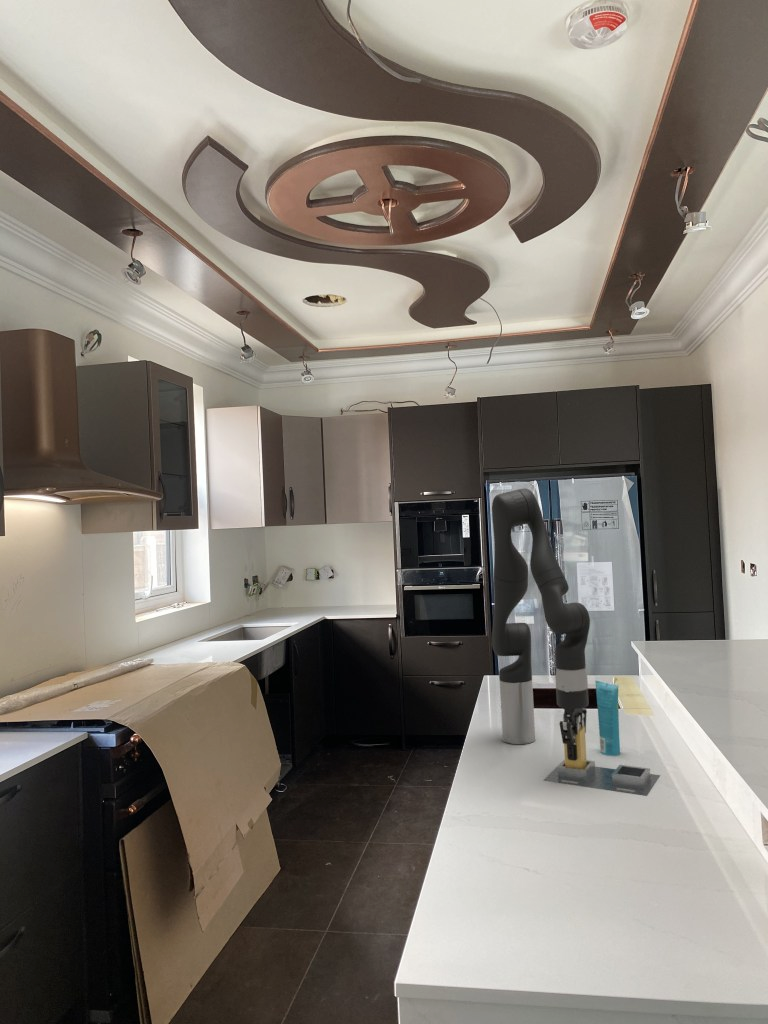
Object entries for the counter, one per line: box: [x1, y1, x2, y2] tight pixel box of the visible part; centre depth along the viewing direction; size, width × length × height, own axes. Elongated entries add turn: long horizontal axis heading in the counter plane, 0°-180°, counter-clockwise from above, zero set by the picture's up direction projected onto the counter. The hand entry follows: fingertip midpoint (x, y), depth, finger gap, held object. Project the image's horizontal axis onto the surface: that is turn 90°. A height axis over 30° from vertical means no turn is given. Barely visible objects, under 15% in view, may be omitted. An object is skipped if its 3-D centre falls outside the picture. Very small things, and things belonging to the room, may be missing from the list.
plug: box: [563, 725, 588, 769], centre depth 181 cm, size 4×4×11 cm
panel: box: [542, 759, 661, 797], centre depth 178 cm, size 14×24×4 cm, turn 58°
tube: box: [594, 680, 621, 757], centre depth 196 cm, size 7×5×19 cm, turn 39°
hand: (575, 756), depth 181 cm, fingers closed on plug, 4 cm apart
